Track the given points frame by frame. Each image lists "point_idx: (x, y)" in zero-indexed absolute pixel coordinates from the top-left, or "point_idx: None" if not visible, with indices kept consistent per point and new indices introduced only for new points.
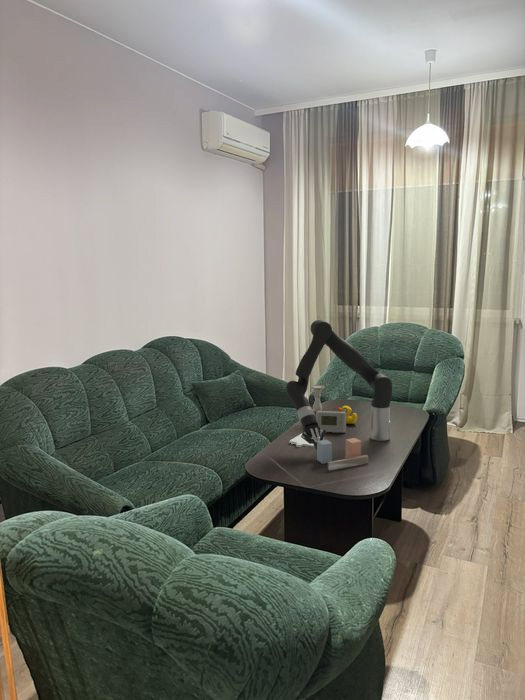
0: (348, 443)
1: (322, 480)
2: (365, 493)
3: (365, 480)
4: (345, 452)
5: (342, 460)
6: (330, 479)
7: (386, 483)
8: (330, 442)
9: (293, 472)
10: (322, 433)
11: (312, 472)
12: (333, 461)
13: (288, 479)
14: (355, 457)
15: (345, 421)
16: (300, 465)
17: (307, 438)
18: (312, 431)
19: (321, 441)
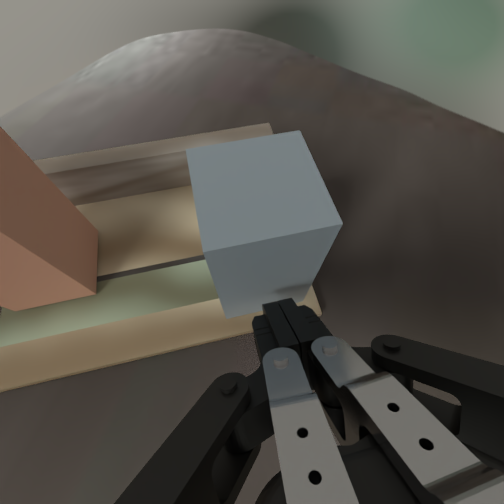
0: (8, 184)
1: (318, 108)
2: (203, 31)
3: (152, 87)
4: (71, 278)
5: (180, 140)
6: (283, 110)
7: (95, 63)
8: (196, 164)
9: (451, 191)
10: (174, 501)
11: (351, 176)
12: (238, 138)
13: (468, 135)
14: (77, 163)
15: None
16: (415, 268)
17: (483, 362)
18: (462, 488)
19: (288, 206)
